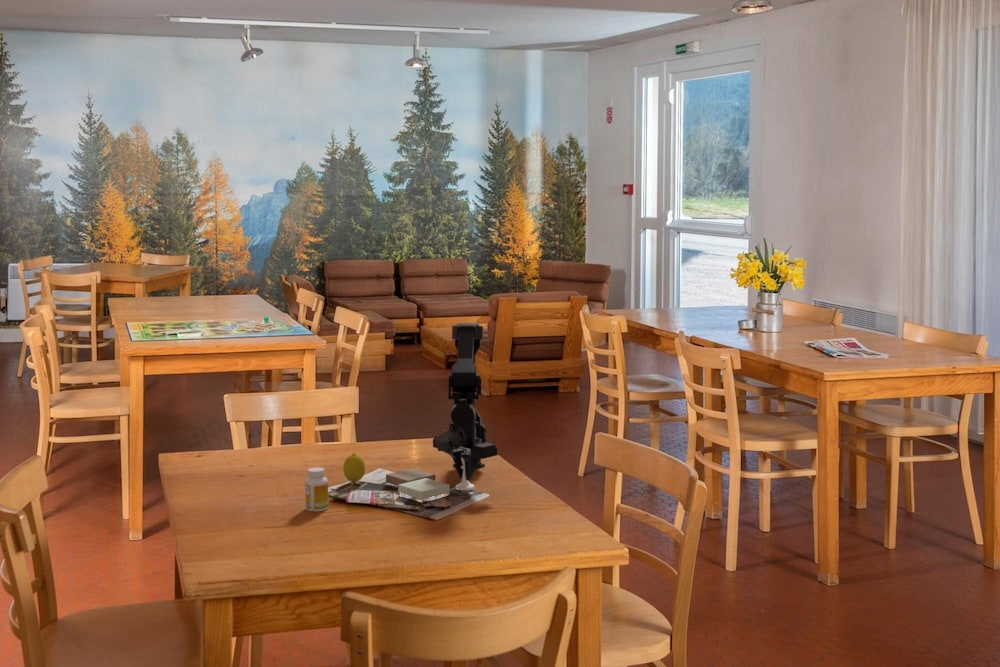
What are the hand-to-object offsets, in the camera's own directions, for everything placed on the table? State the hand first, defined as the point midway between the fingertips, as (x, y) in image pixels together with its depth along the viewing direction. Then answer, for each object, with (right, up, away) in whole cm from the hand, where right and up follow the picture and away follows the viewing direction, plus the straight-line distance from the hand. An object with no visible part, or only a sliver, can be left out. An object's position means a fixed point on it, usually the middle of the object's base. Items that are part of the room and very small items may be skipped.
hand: (465, 478), depth 282 cm
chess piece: (0, -3, 0) cm, 3 cm away
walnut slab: (-14, -2, +3) cm, 15 cm away
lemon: (-29, -2, +6) cm, 30 cm away
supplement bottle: (-35, -5, -17) cm, 39 cm away
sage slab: (-10, -4, -7) cm, 12 cm away
